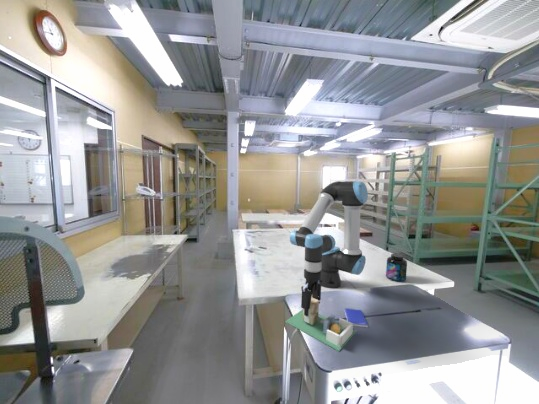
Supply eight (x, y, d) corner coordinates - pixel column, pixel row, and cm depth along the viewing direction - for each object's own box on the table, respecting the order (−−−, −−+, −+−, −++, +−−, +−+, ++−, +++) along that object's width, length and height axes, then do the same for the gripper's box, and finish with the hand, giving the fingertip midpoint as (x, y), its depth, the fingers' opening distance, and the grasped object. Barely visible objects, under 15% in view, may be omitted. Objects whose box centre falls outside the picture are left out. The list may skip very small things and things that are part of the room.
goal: (339, 326, 101) (340, 317, 101) (353, 332, 97) (353, 323, 97) (326, 339, 92) (326, 330, 92) (340, 347, 88) (340, 337, 88)
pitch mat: (305, 308, 116) (305, 307, 116) (356, 332, 98) (356, 331, 98) (285, 322, 104) (285, 321, 104) (338, 351, 87) (339, 350, 86)
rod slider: (310, 315, 109) (310, 295, 108) (334, 326, 100) (335, 305, 99) (301, 321, 103) (302, 301, 103) (326, 334, 95) (327, 312, 94)
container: (386, 280, 152) (388, 255, 151) (384, 275, 163) (386, 251, 163) (407, 284, 147) (409, 258, 147) (404, 277, 159) (405, 254, 158)
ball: (334, 320, 98) (343, 326, 96) (331, 327, 99) (340, 334, 97) (330, 324, 95) (338, 330, 93) (327, 331, 96) (335, 338, 94)
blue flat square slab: (368, 325, 102) (361, 310, 114) (348, 322, 103) (344, 308, 115) (367, 328, 102) (361, 313, 114) (348, 326, 103) (344, 311, 115)
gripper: (316, 262, 111) (314, 308, 113) (293, 272, 98) (291, 324, 100) (330, 266, 106) (327, 314, 108) (308, 277, 93) (306, 332, 95)
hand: (310, 319), depth 104 cm, fingers closed on rod slider, 5 cm apart
